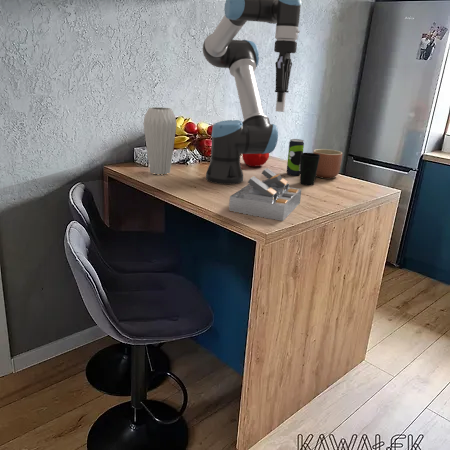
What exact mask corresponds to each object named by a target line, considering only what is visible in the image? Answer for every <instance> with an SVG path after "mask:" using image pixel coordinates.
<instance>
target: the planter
mask: <svg viewBox="0 0 450 450" xmlns="http://www.w3.org/2000/svg"><path fill="white" fill-rule="evenodd" d="M312 153H315V154H319V155H320V158H319V163H318V167H317V172H316V178H317V177H318V178H321V179H333V178H336V177H337V176H338V175H339V173H340V172H341V171H340V170H341V165H342V160H343V152H342V151H339V150H335V149H328V148H319V149H318V148H317V149H314V150H313V151H312Z"/></svg>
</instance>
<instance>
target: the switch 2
mask: <svg viewBox="0 0 450 450" xmlns="http://www.w3.org/2000/svg"><path fill="white" fill-rule="evenodd" d="M247 184H250V185H252V186H253V187H254V188H256V189H257V190H259V191H260V192H261V193H263V194H264V195H265V196H269V197H274V196H275V194H276V192H277V191H275V190H274V189H272V188H271V187H268V186H267V185H265V184H264V183H263V182H262V180H260V179H259V178H257V177H256V176H254V175H253V176H252V177H250V178H249V179H248V181H247Z"/></svg>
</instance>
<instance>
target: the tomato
mask: <svg viewBox="0 0 450 450" xmlns="http://www.w3.org/2000/svg"><path fill="white" fill-rule="evenodd" d="M241 155H242V157H241V159H242V160H243V162H244V164H245V165H246V166H249V167H260V166H263V165H265V164H266V163H267V162H268V160H269V158H270V153H264V154H241Z"/></svg>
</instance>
